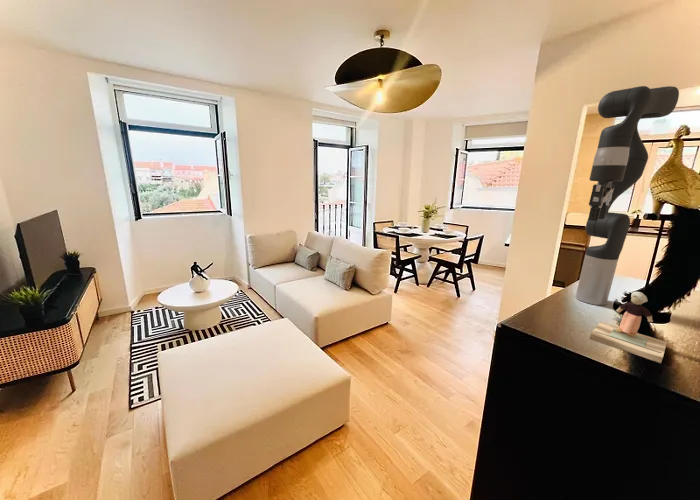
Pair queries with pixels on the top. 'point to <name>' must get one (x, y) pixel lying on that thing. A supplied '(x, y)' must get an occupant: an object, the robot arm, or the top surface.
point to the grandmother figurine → (633, 314)
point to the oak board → (630, 342)
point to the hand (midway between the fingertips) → (596, 219)
